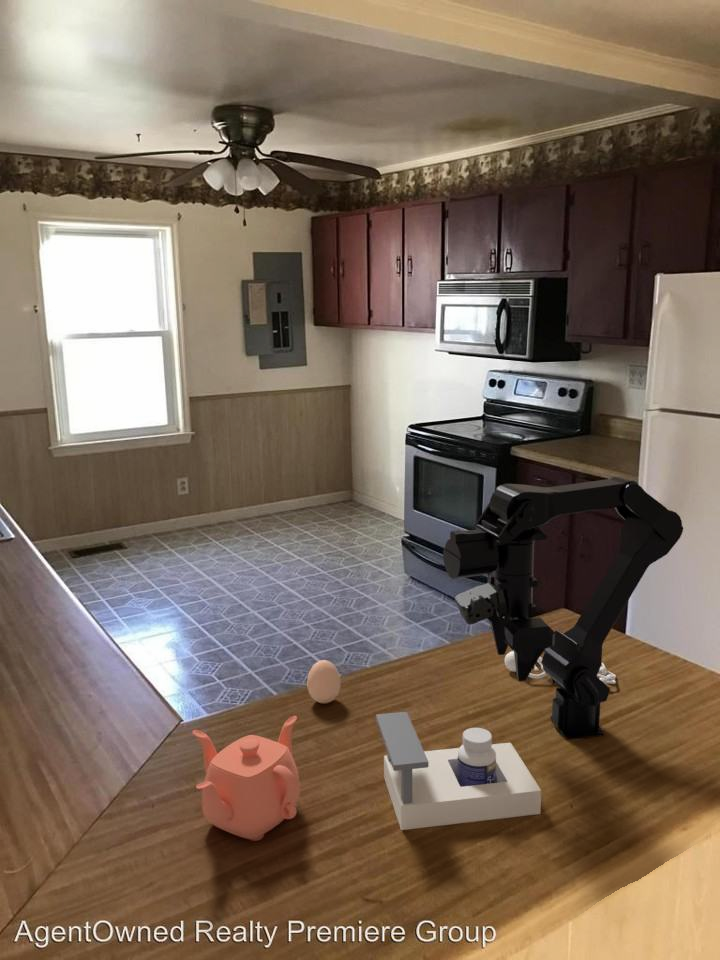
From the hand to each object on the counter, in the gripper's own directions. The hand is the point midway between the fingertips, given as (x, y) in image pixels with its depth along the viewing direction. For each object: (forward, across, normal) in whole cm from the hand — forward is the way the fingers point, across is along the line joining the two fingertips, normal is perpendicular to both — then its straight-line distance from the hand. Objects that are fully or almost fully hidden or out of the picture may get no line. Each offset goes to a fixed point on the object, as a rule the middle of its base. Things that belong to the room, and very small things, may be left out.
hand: (511, 667), depth 120 cm
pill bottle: (+13, +12, -9) cm, 20 cm away
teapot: (+13, +11, -41) cm, 44 cm away
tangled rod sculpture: (+13, -22, +17) cm, 31 cm away
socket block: (+13, +12, -12) cm, 21 cm away
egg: (+13, -18, -27) cm, 35 cm away
